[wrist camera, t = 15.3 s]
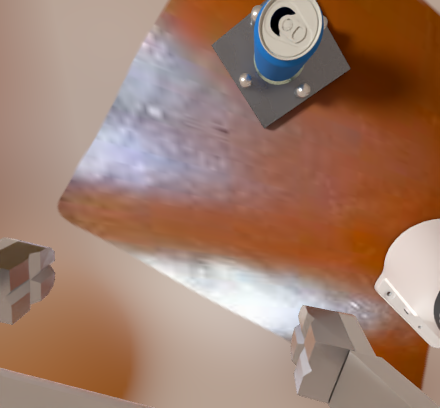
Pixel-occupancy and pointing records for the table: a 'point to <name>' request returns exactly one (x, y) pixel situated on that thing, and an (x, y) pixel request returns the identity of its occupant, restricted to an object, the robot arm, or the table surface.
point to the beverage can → (286, 36)
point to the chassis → (276, 90)
